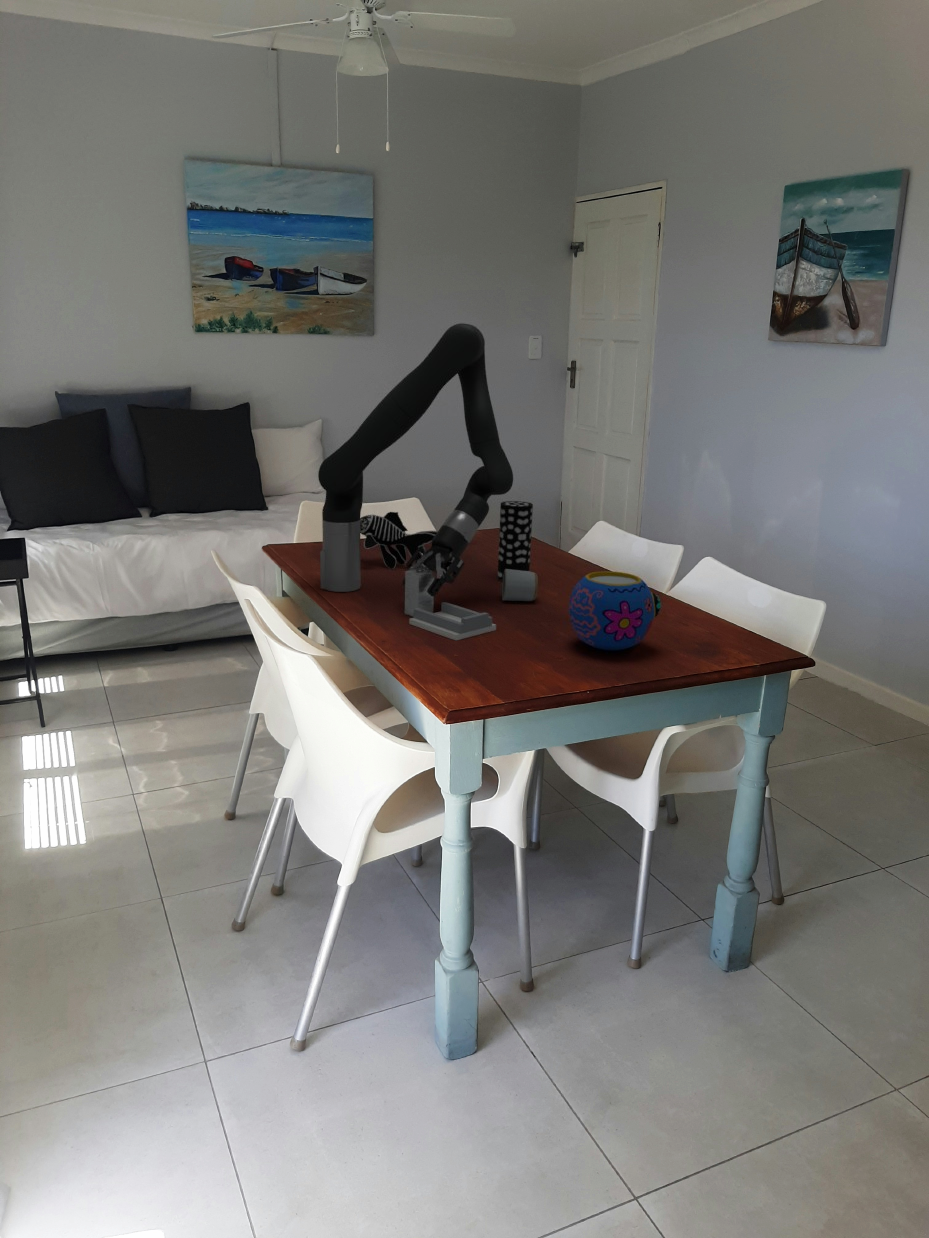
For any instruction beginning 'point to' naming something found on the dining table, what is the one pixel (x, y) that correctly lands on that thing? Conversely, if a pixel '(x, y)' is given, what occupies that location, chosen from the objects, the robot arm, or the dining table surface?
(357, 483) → the robot arm
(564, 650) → the dining table surface
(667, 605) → the dining table surface
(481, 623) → the grey open box
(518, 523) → the spotted tube
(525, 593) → the ceramic mug
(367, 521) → the decorative fish
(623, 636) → the ceramic pot
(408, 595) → the aluminium block
